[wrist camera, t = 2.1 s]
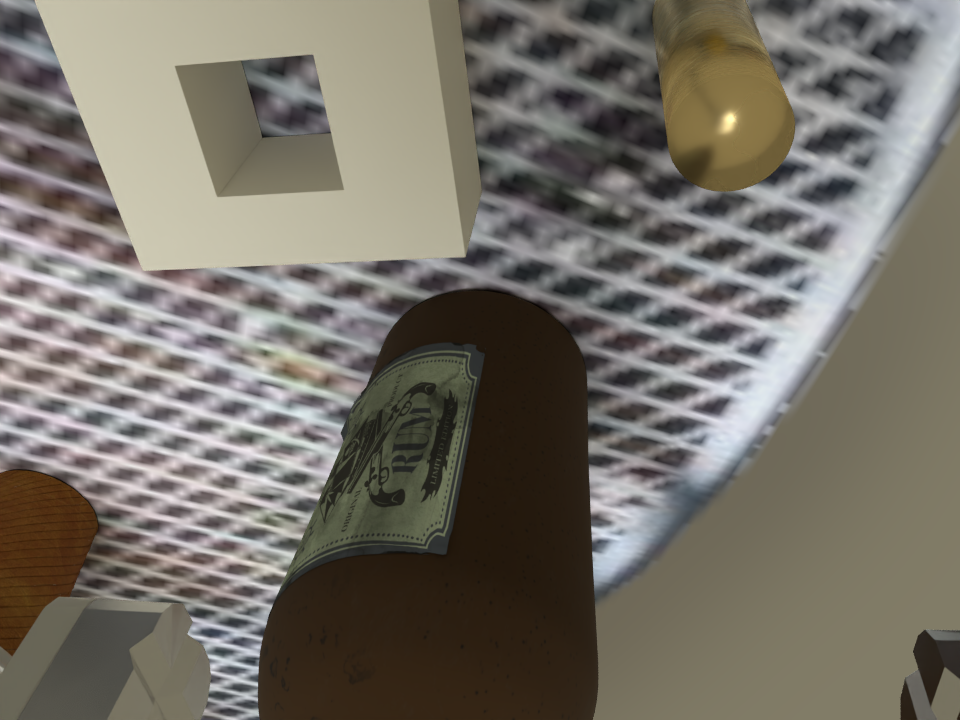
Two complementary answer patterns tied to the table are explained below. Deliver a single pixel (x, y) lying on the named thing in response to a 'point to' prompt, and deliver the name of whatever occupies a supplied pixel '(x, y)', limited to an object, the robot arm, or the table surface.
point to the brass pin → (719, 94)
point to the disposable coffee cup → (38, 549)
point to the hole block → (276, 160)
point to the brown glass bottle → (448, 534)
